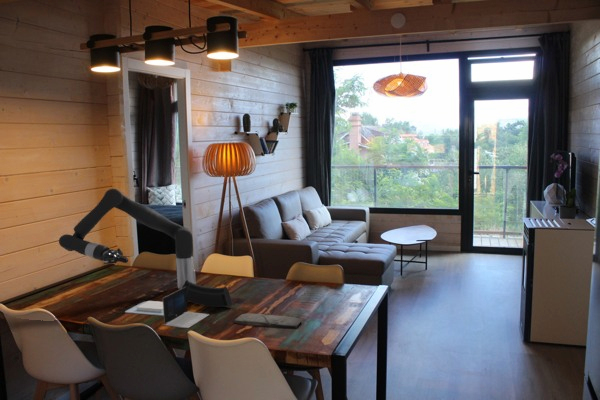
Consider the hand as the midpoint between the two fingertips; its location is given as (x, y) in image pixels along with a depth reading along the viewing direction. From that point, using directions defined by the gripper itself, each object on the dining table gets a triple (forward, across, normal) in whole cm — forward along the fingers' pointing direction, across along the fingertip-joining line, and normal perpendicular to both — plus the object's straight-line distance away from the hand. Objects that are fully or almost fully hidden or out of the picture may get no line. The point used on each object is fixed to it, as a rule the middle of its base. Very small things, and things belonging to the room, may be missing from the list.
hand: (127, 260), depth 262 cm
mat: (+19, -8, +17) cm, 27 cm away
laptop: (+43, -18, +9) cm, 47 cm away
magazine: (+42, +4, +14) cm, 45 cm away
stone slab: (+80, -13, +1) cm, 81 cm away
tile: (+13, -7, +18) cm, 23 cm away
